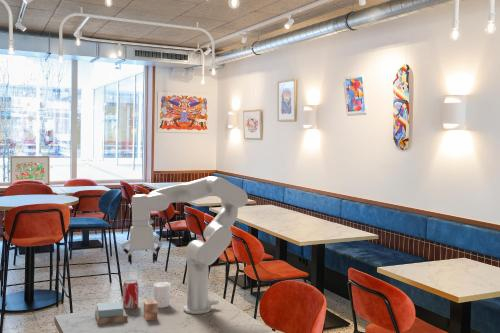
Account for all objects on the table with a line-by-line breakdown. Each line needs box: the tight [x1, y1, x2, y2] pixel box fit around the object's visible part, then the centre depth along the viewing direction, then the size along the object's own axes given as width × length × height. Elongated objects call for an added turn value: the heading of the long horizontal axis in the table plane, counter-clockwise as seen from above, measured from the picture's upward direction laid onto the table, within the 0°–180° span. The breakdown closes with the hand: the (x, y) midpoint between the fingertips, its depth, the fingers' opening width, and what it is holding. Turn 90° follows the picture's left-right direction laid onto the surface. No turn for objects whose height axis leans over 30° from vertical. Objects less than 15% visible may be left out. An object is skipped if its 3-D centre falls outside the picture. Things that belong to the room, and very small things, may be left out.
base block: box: [94, 306, 128, 325], centre depth 223 cm, size 12×12×3 cm
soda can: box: [122, 279, 140, 310], centre depth 238 cm, size 7×7×12 cm
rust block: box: [143, 299, 158, 321], centre depth 224 cm, size 5×5×7 cm
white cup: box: [152, 281, 172, 309], centre depth 241 cm, size 8×8×10 cm
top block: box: [96, 301, 123, 318], centre depth 223 cm, size 10×10×3 cm
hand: (142, 263), depth 223 cm, fingers open, 9 cm apart
